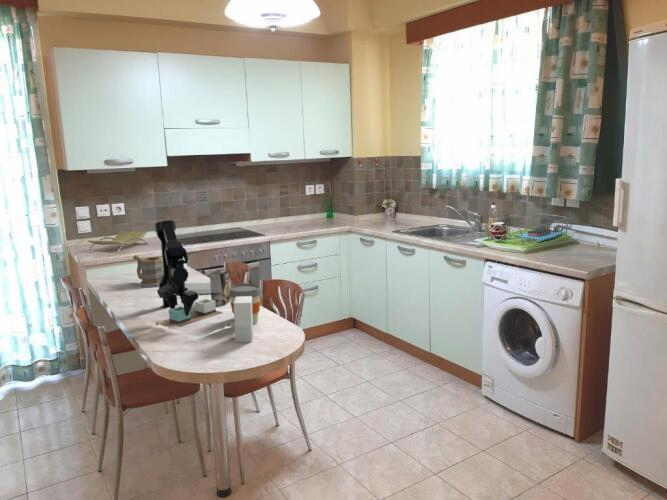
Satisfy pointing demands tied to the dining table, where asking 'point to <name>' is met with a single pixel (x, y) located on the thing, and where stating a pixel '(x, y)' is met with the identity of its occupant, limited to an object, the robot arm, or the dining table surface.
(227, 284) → the coffee box
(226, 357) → the dining table surface
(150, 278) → the tankard
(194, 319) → the pin board
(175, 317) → the teal sleeve
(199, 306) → the grey sleeve
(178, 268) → the robot arm
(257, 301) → the reusable coffee cup
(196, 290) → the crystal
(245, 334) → the skincare box
